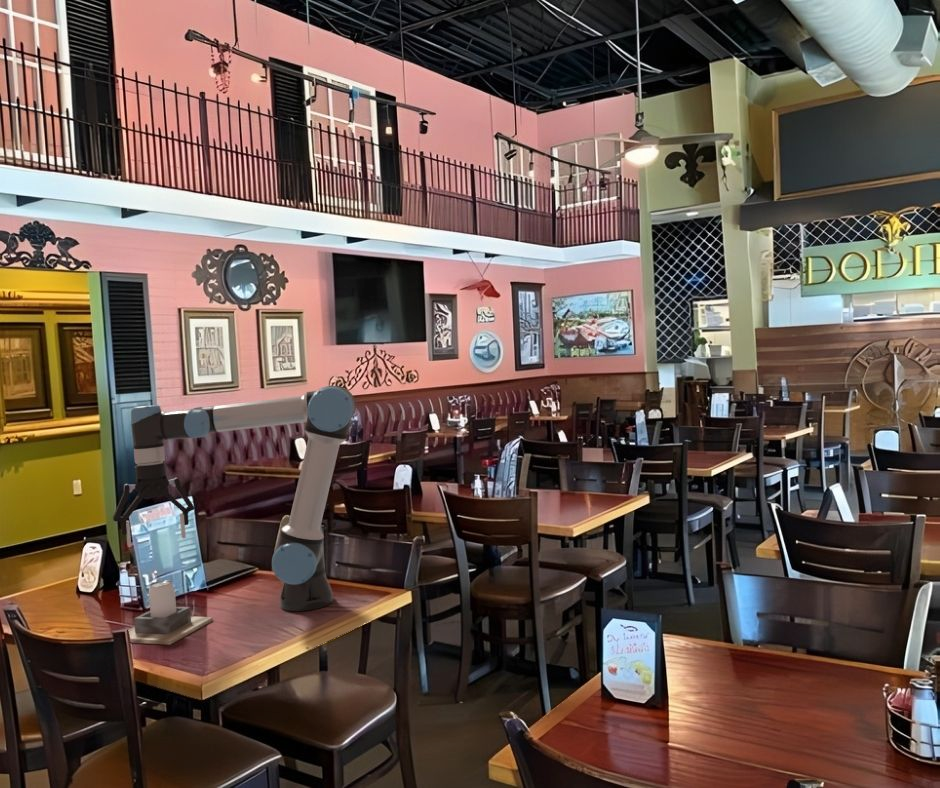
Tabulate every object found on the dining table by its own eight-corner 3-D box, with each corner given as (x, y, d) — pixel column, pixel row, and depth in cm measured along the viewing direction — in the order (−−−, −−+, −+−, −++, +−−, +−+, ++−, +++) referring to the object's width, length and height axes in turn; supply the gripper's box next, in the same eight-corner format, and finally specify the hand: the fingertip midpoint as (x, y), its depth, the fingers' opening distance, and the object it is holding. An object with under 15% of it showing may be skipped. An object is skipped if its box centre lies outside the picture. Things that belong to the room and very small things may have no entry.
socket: (212, 620, 214) (211, 603, 213) (169, 644, 196) (168, 625, 196) (158, 618, 219) (157, 601, 219) (112, 641, 202) (110, 622, 201)
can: (181, 622, 211) (177, 579, 210) (171, 630, 204) (167, 586, 204) (159, 623, 211) (155, 580, 211) (147, 631, 205) (143, 587, 204)
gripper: (196, 456, 215) (203, 531, 216) (97, 467, 203) (105, 547, 204) (201, 458, 208) (207, 536, 209) (99, 470, 197) (106, 552, 197)
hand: (156, 541), depth 207 cm, fingers open, 13 cm apart
